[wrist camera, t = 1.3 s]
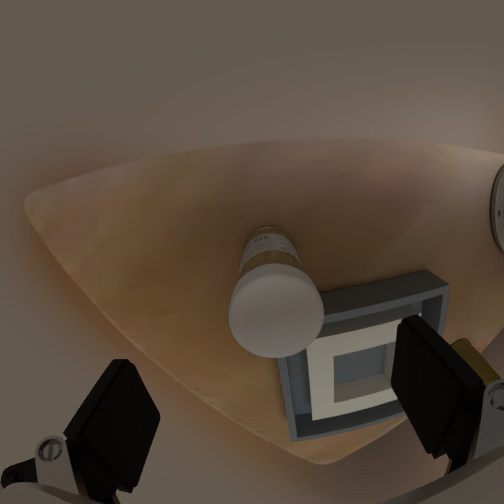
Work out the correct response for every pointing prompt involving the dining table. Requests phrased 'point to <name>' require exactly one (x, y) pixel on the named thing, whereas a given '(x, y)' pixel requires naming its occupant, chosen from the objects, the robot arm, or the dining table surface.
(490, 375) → the vase
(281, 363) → the open box
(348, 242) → the dining table surface
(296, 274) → the sprinkles bottle
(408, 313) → the block
